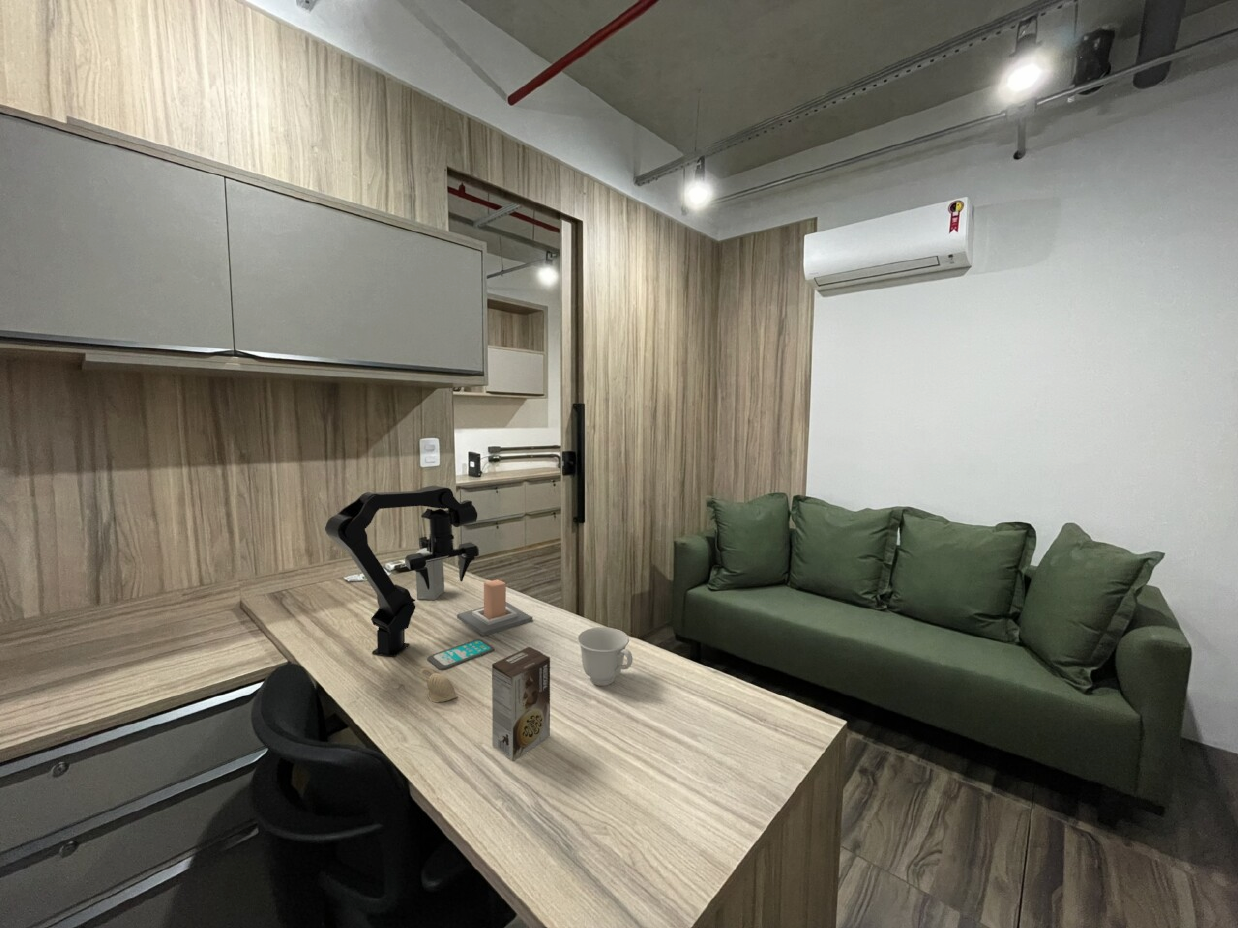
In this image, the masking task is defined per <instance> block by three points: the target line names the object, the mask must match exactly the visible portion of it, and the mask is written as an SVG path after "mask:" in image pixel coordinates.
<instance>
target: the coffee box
mask: <svg viewBox="0 0 1238 928" xmlns="http://www.w3.org/2000/svg"><path fill="white" fill-rule="evenodd" d="M491 667H492V668H491V675H492V678H491V680H492V681H491V682H492V683H491V684H492V685H491V693H492V694H491V696H492V699H491V700H492V702H491V705H492V706H491V707H492V709H491V710H492V711H491V714H492V718H491V720H492V721H491V722H492V737H491V738H492V747H494V749H496V750H498V751H499V752H500V753H501V754H503V755H504V756H505V757H507V759H509V760H510V761H512V762H513V761H515V760H517V759H518V758H520V757H522V756H523V755H524V754H526V753H527V752H528V751H531V750H532V749H533V748H534V747H536V746H538V744H540V743H542V742H544V741H545V740H546V739H547V738H549V737H550V736H551V657H550V656H547V655H546V654H543V652H541V651H539V650H538V649H535V648H533V647H531V646H527V647H526V648H524V649H521V650H519V651H517V652H514V653H513V654H511V655H509V656H506V657H504V658H502V659H500V660H498V661H496V662H494V663H492V664H491Z"/></svg>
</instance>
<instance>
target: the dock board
mask: <svg viewBox="0 0 1238 928" xmlns="http://www.w3.org/2000/svg"><path fill="white" fill-rule="evenodd" d="M456 618H457V619H458V620H459V621H460V622H462V623H463V624H465V625H466V626H468V627H469V628H471V630H473V631H474V632H476V633H478V634H479V635H480V636H482V637H486V636H489V635H492V634H495V633H499V632H501V631H505V630H507V629H511V628H514V627H517V626H521V625H523V624H527V623H529V622H533V616H531V615H530V614H529V613H526V612H525V611H523V610H521V609H519V608H517V607H516V606H514V605H512V604H510V603H508V602H507V601H506V615H504V616H500V617H497V618H494V619H489V618H488V617H486V616H484V606H481V607H478V608H474V609H471V610H467V611H463V612H459V613H457V614H456Z"/></svg>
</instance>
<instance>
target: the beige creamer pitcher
mask: <svg viewBox="0 0 1238 928" xmlns="http://www.w3.org/2000/svg"><path fill="white" fill-rule="evenodd" d="M424 671H426V672H429V673H430V674H431V675H430V676H429V678H427V677H425V676H424V674H423V672H424ZM419 676H420V678H421V679H422V680H423V681H425V682H426V683H427V684H426V687H427V690H428V691H427V697H428V699H429V700H430V701H431V702H434V703H442V702H443V703H444V702H445V701H449V700H453V699H455V698H458V697H459V696H458V694H457V693H456V691H455V687H454V685H453V683H452V681H451V679H449V678H448V677H447V676H446V675H444V674H441V673H438V672H434V671H433V670H432V669H431V668H428V667H423V668H422V669H420V671H419Z"/></svg>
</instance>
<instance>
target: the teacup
mask: <svg viewBox="0 0 1238 928" xmlns="http://www.w3.org/2000/svg"><path fill="white" fill-rule="evenodd" d="M629 642H630V639H629V636H628V635H627V634H626V633H625V632H624V631H622V630H619V629H616V628H614V627H601V626H600V627H599V626H598V627H593V628H588V629H586V630H584V631H582V632H581V633H580V634H579V635H578V636H577V643H578V644H579V646H580V650H581V651H580V653H581V662H582V667H583V670H584V673H585V674H586V675H587V676H588V677H589V680H590V682H591V683H592V684H594V685H597V686H608V685H611V684H612V683H614V681H615V677H617V676H618V675H619V674H620V673H621V671H622V670H627V669H629V668H631V666H632V665H633V661H634V660H633V654H632V652H631V651H630V650H629V649H627V647H626V646H628V644H629ZM624 656H625V657H624ZM624 658H626V664H624Z"/></svg>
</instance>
